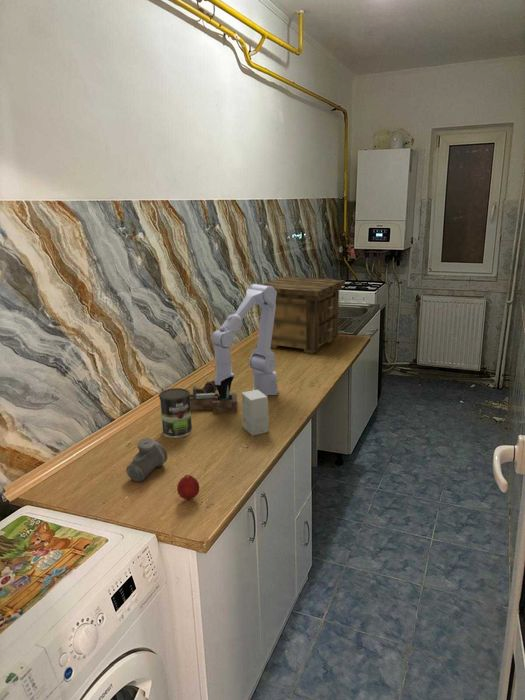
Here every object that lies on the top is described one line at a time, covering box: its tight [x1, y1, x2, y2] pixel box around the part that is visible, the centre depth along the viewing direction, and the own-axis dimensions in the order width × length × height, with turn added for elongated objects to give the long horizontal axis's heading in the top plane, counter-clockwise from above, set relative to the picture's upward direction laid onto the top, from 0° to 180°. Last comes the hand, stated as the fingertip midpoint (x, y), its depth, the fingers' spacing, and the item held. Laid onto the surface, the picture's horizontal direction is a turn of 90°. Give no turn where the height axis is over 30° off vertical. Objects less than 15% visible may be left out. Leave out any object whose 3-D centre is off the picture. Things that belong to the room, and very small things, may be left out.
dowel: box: [219, 387, 229, 401], centre depth 194 cm, size 4×4×6 cm
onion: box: [176, 473, 200, 502], centre depth 136 cm, size 6×6×8 cm
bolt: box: [196, 380, 217, 394], centre depth 208 cm, size 6×5×15 cm
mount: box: [190, 392, 238, 414], centre depth 195 cm, size 18×9×5 cm, turn 92°
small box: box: [241, 389, 270, 437], centre depth 175 cm, size 8×6×13 cm
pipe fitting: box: [125, 437, 168, 483], centre depth 150 cm, size 12×8×10 cm
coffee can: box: [158, 387, 193, 439], centre depth 175 cm, size 10×10×14 cm
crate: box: [260, 275, 346, 354], centre depth 269 cm, size 35×35×33 cm
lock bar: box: [192, 385, 216, 400], centre depth 193 cm, size 8×3×4 cm, turn 92°
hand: (224, 396), depth 194 cm, fingers closed on dowel, 3 cm apart
